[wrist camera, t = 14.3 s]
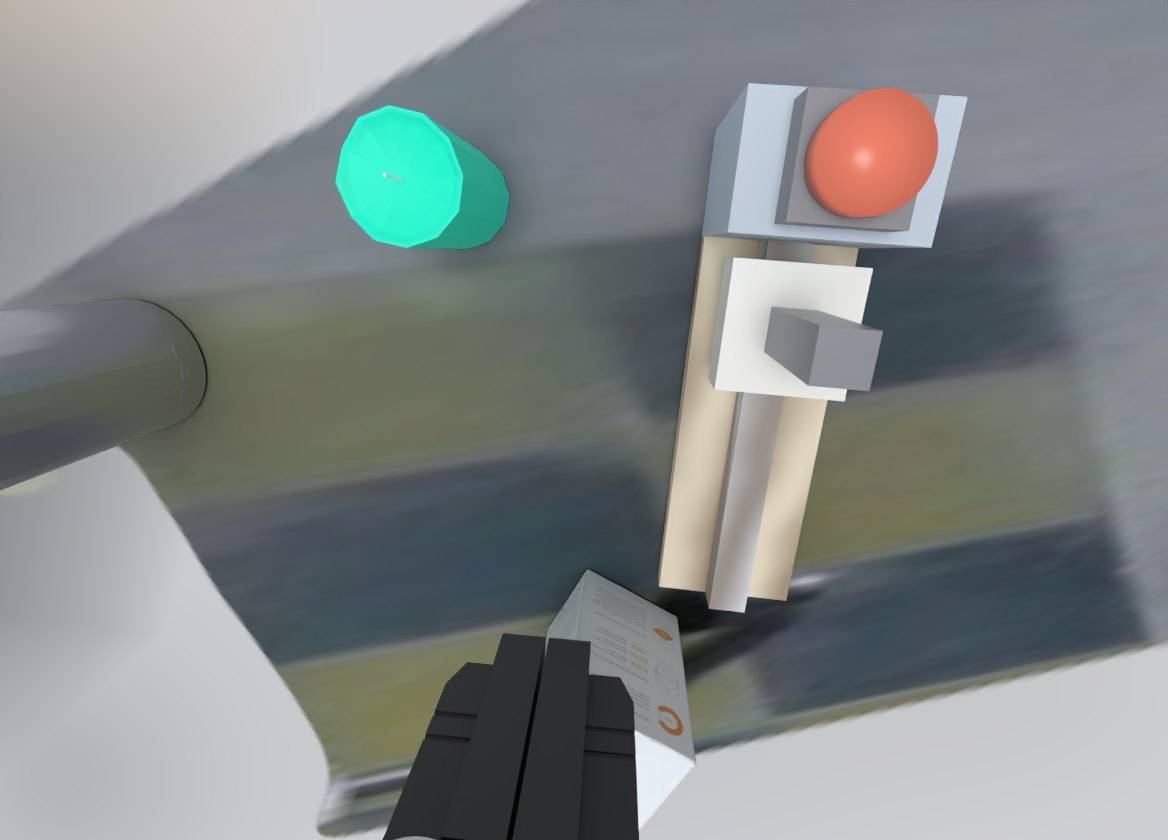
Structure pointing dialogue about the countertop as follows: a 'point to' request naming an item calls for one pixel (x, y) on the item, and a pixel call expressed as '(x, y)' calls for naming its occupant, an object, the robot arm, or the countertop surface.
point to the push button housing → (778, 183)
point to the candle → (419, 183)
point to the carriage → (793, 330)
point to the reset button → (871, 154)
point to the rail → (713, 442)
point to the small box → (637, 677)
